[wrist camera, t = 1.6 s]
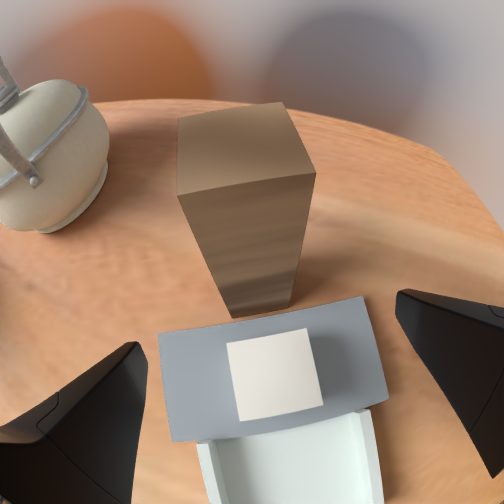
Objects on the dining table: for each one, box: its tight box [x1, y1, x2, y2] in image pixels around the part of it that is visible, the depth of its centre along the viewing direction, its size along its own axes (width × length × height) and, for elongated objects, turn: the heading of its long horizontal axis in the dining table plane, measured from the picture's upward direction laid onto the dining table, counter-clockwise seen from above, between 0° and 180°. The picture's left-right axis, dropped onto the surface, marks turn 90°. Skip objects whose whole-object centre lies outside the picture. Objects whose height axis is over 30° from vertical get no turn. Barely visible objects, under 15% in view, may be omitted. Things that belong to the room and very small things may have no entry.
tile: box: [226, 328, 323, 421], centre depth 17 cm, size 5×5×3 cm
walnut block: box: [177, 102, 316, 318], centre depth 16 cm, size 4×4×15 cm
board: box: [158, 296, 389, 442], centre depth 19 cm, size 8×16×2 cm, turn 100°
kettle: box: [0, 57, 110, 233], centre depth 20 cm, size 25×18×25 cm
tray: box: [196, 409, 384, 504], centre depth 14 cm, size 10×12×3 cm
